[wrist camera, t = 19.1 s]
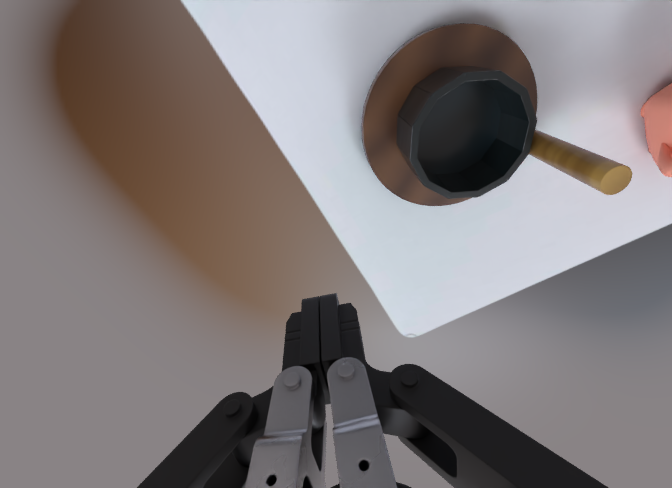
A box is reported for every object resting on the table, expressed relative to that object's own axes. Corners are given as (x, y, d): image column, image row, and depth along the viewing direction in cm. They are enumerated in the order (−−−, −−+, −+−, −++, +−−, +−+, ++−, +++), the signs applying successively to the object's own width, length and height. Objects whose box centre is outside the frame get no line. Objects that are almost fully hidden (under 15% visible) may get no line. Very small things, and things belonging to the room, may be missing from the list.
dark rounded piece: (331, 160, 39) (341, 223, 25) (424, -19, 31) (508, -63, 18) (460, 224, 44) (524, 304, 30) (566, 83, 36) (715, 108, 23)
